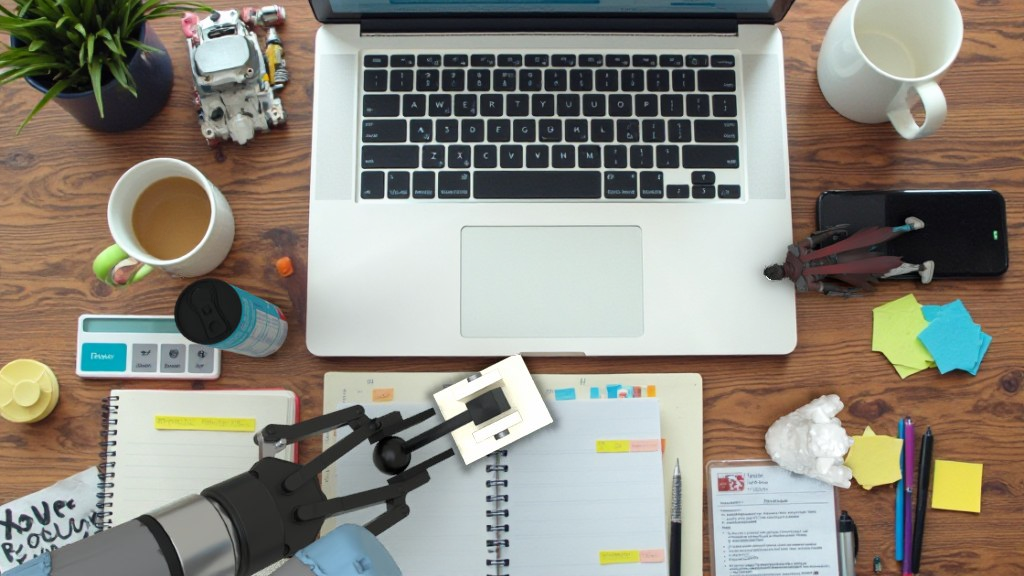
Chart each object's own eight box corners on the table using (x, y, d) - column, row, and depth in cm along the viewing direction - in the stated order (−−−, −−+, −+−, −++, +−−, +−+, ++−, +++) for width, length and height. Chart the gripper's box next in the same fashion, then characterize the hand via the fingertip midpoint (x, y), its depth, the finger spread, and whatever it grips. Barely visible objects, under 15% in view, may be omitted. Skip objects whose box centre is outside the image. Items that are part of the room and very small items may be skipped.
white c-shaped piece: (466, 464, 80) (454, 475, 65) (434, 394, 81) (414, 389, 66) (553, 421, 80) (560, 422, 66) (519, 352, 82) (518, 338, 67)
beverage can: (282, 295, 83) (231, 269, 68) (297, 347, 82) (248, 332, 67) (229, 313, 83) (166, 290, 68) (243, 365, 82) (182, 353, 67)
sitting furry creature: (849, 487, 79) (906, 499, 67) (765, 493, 79) (808, 505, 67) (836, 394, 80) (890, 389, 69) (753, 399, 80) (793, 396, 69)
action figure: (904, 219, 84) (745, 244, 83) (934, 199, 78) (763, 226, 77) (926, 289, 82) (763, 316, 81) (958, 274, 76) (783, 303, 75)
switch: (395, 476, 73) (375, 485, 70) (379, 441, 74) (358, 449, 71) (517, 414, 69) (502, 421, 65) (499, 378, 69) (483, 383, 66)
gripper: (158, 451, 62) (381, 372, 80) (238, 648, 60) (450, 522, 77) (191, 422, 57) (421, 344, 75) (279, 636, 55) (496, 504, 72)
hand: (436, 434), depth 76 cm, fingers closed on switch, 4 cm apart
